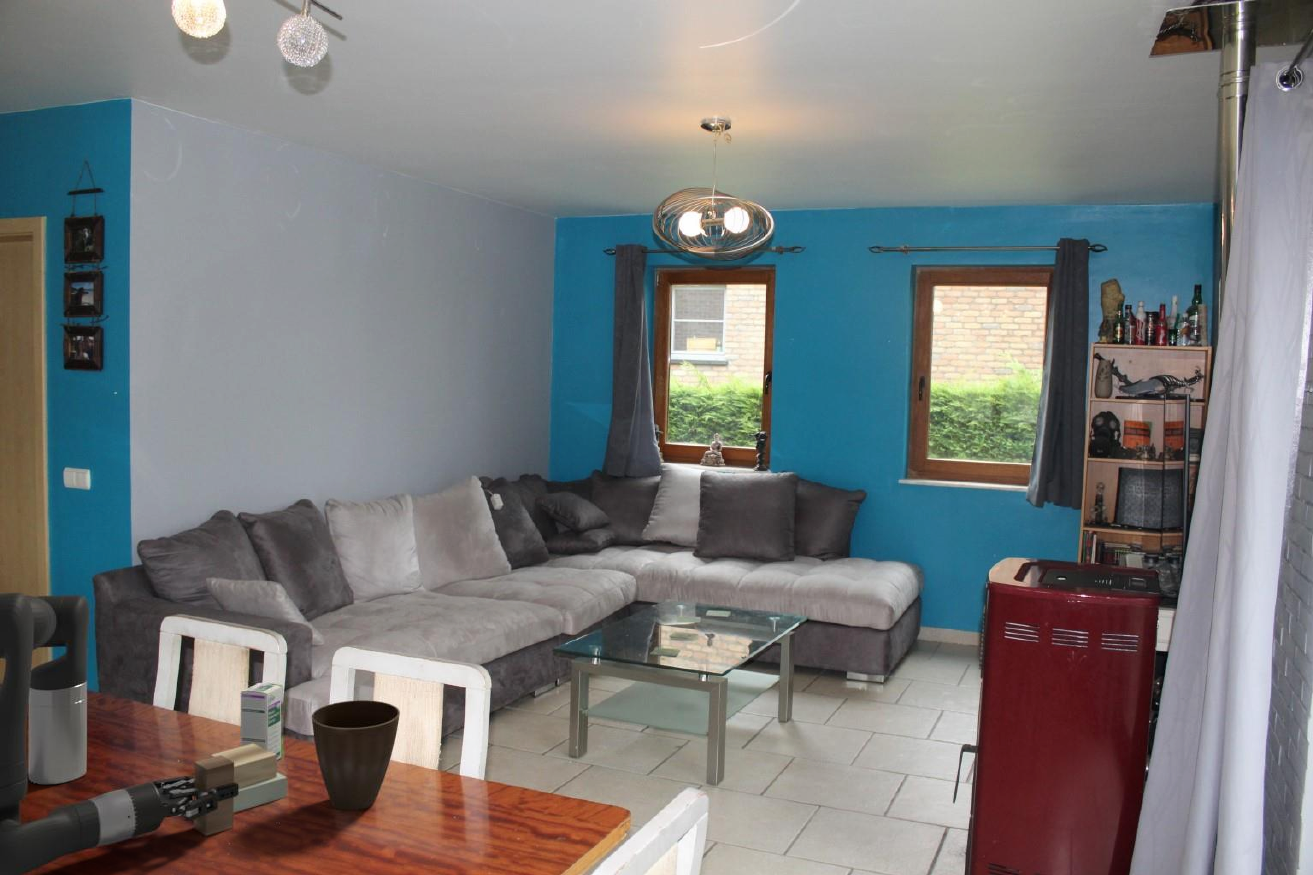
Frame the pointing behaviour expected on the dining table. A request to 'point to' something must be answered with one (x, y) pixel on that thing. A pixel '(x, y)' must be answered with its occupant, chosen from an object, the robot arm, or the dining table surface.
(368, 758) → the plant pot
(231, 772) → the walnut block
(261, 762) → the tower top
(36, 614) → the robot arm
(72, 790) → the dining table surface
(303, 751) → the dining table surface
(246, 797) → the tower base
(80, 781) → the dining table surface
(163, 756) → the dining table surface
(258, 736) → the syrup box
